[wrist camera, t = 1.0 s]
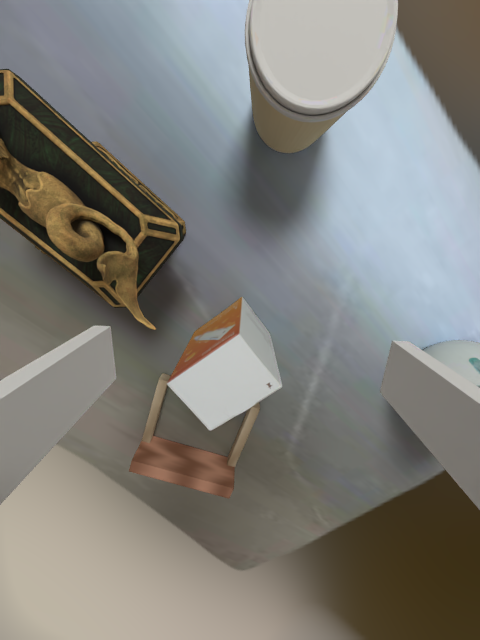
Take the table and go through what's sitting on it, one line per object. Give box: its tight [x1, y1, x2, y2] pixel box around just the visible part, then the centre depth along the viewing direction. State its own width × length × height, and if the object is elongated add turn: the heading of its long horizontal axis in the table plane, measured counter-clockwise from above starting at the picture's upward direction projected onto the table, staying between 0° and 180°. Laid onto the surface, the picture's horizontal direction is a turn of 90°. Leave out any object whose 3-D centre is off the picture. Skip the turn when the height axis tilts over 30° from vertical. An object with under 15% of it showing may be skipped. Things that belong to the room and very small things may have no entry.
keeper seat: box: [129, 373, 260, 498], centre depth 37 cm, size 14×13×5 cm
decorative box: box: [0, 69, 186, 330], centre depth 21 cm, size 20×10×20 cm, turn 48°
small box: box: [167, 297, 282, 431], centre depth 29 cm, size 8×6×13 cm
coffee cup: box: [245, 0, 398, 153], centre depth 21 cm, size 9×9×12 cm
